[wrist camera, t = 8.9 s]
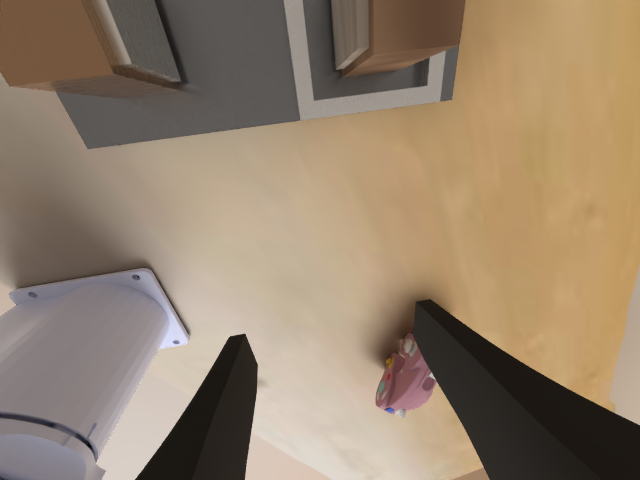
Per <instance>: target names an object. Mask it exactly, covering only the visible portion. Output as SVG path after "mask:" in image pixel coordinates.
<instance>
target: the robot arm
mask: <svg viewBox="0 0 640 480" xmlns="http://www.w3.org/2000/svg"><path fill="white" fill-rule="evenodd" d="M136 275H138V276H139V277H137V276H136ZM9 297H10V298H11V300H12V301H13V302H14V303H15V304H16V306H15V307H13V308H12V309H10V310H9V311H7V312H6V313H5V314H3V315H2V316H0V480H102V478H103V476H104V474H105V472H106V471H105V470H104V469H102V468H100V467H99V466H98V465H97V464H96V462H97V460H98V458H99V456H100V455H101V453H102V451H103V449H104V447H105V445H106V444H107V442H108V440H109V438H110V436H111V434H112V433H113V431H114V429H115V427H116V426H117V424H118V422H119V420H120V418H121V417H122V415H123V413H124V411H125V409H126V407H127V405H128V404H129V402H130V400H131V398H132V397H133V395H134V393H135V391H136V389H137V387H138V386H139V384H140V382H141V380H142V378H143V377H144V375H145V373H146V371H147V369H148V368H149V366H150V364H151V362H152V360H153V359H154V357H155V355H156V353H157V351H158V349H163V348H168V347H174V346H179V345H184V344H187V343H188V342H189V339H190V337H189V335H188V333H187V331H186V330H185V328H184V326H183V324H182V323H181V321H180V319H179V317H178V316H177V314H176V312H175V311H174V309H173V307H172V305H171V304H170V302H169V300H168V298H167V297H166V295H165V293H164V291H163V290H162V288H161V286H160V284H159V283H158V281H157V279H156V277H155V276H154V274H153V272H152V271H151V270H149V269H147V268H139V269H133V270H127V271H121V272H115V273H109V274H103V275H97V276H91V277H85V278H79V279H73V280H67V281H61V282H55V283H49V284H43V285H37V286H31V287H25V288H19V289H15V290H13V291H12V292H10V293H9ZM413 337H414V339H415V341H416V344H417V346H418V348H419V350H420V352H421V354H422V357H423V359H424V360H425V362H426V364H427V366H428V367H429V369H430V371H431V372H432V374H433V376H434V377H435V379H436V381H437V382H438V384H439V386H440V387H441V389H442V391H443V392H444V394H445V396H446V397H447V399H448V401H449V402H450V404H451V406H452V407H453V409H454V411H455V412H456V414H457V416H458V418H459V419H460V421H461V423H462V425H463V426H464V428H465V430H466V432H467V434H468V436H469V438H470V440H471V442H472V444H473V446H474V448H475V450H476V452H477V454H478V456H479V458H480V460H481V462H482V464H483V466H484V468H485V470H486V473H487V474H488V477H489V479H490V480H640V425H638V424H636V423H634V422H632V421H630V420H627V419H625V418H623V417H621V416H619V415H617V414H615V413H613V412H611V411H609V410H607V409H605V408H603V407H601V406H600V405H598V404H596V403H594V402H592V401H590V400H588V399H586V398H584V397H582V396H580V395H578V394H576V393H575V392H573V391H571V390H569V389H567V388H565V387H563V386H562V385H560V384H558V383H556V382H555V381H553V380H551V379H549V378H548V377H546V376H544V375H542V374H541V373H539V372H537V371H535V370H534V369H532V368H530V367H529V366H527V365H525V364H524V363H522V362H520V361H519V360H517V359H516V358H514V357H512V356H511V355H509V354H508V353H506V352H505V351H503V350H501V349H500V348H498V347H497V346H495V345H494V344H492V343H491V342H489V341H488V340H486V339H485V338H483V337H482V336H480V335H479V334H478V333H476V332H475V331H473V330H472V329H470V328H469V327H468V326H466V325H465V324H463V323H462V322H461V321H459V320H458V319H456V318H455V317H454V316H452V315H451V314H450V313H448V312H447V311H445V310H444V309H443V308H441V307H440V306H439V305H437V304H436V303H435V302H433V301H432V300H430V299H428V300H423V301H418V302H416V307H415V316H414V326H413ZM257 371H258V364H257V362H256V359H255V357H254V354H253V352H252V349H251V347H250V344H249V342H248V339H247V337H246V334H241V335H235V336H230V337H229V338H228V340H227V342H226V344H225V345H224V347H223V349H222V351H221V352H220V354H219V356H218V358H217V359H216V361H215V363H214V365H213V366H212V368H211V370H210V371H209V373H208V375H207V376H206V378H205V380H204V381H203V383H202V384H201V386H200V388H199V389H198V391H197V393H196V394H195V396H194V397H193V399H192V401H191V402H190V403H189V405H188V406H187V408H186V410H185V411H184V412H183V414H182V416H181V417H180V419H179V420H178V422H177V423H176V425H175V426H174V427H173V429H172V431H171V432H170V433H169V435H168V436H167V437H166V439H165V440H164V442H163V443H162V445H161V446H160V447H159V449H158V450H157V451H156V453H155V454H154V455H153V457H152V458H151V459H150V461H149V462H148V463H147V465H146V466H145V467H144V469H143V470H142V471H141V473H140V474H139V475H138V477H137V478H136V479H135V480H245V473H246V463H247V456H248V449H249V443H250V436H251V429H252V422H253V415H254V408H255V401H256V393H257Z"/></svg>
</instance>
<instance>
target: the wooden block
mask: <svg viewBox="0 0 640 480" xmlns="http://www.w3.org/2000/svg"><path fill="white" fill-rule="evenodd" d="M331 6H332V21H333V35H334V50H335V65H336V70H338V69H342V78H343V77H351V76H359V75H367V74H375V73H383V72H392V71H398V70H400V69H403V68H405V67H408V66H410V65H412V64H415V63H417V62H419V61H422V60H424V59H426V58H429V57H431V56H434V55H436V54H438V53H441V52H443V51H445V50H448V49H450V48H452V47H455V46H457V45H459V44H460V37H461V29H462V22H463V14H464V7H465V0H331Z"/></svg>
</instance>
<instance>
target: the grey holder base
mask: <svg viewBox="0 0 640 480" xmlns="http://www.w3.org/2000/svg"><path fill="white" fill-rule="evenodd" d="M458 50H459V45H457V46H455V47H452V48H450V49H448V50H445V51H443V52H441V53H438V54H436V55H434V56H431V57H429V58H426V59H424V60H422V61H419V62H417V63H415V64H412V65H410V66H408V67H405V68H403V69H400V70H398V71H392V72H383V73H375V74H367V75H359V76H351V77H343V78H342V69H338V70H336V65H335V50H334V35H333V21H332V6H331V0H0V72H1V73H2V75H3V77H4V78H5V80H6V81H7V83H8V84H9V86H12V87H20V88H29V89H38V90H47V91H55V92H56V93H57V95H58V97H59V98H60V100H61V102H62V104H63V106H64V107H65V109H66V111H67V113H68V114H69V116H70V118H71V120H72V122H73V123H74V125H75V127H76V129H77V130H78V132H79V134H80V136H81V138H82V139H83V141H84V143H85V145H86V146H87V148H88V149H93V148H100V147H107V146H115V145H122V144H129V143H137V142H144V141H152V140H159V139H166V138H174V137H181V136H188V135H196V134H203V133H211V132H218V131H225V130H233V129H240V128H247V127H255V126H262V125H270V124H277V123H284V122H292V121H299V120H300V121H301V120H308V119H316V118H323V117H330V116H338V115H345V114H353V113H360V112H367V111H375V110H382V109H389V108H397V107H404V106H412V105H419V104H426V103H434V102H440V101H447V100H452V95H453V87H454V80H455V72H456V65H457V57H458Z"/></svg>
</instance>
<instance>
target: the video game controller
mask: <svg viewBox="0 0 640 480" xmlns="http://www.w3.org/2000/svg"><path fill="white" fill-rule="evenodd" d="M401 354H402V355H404V356H405V359H404V358H403V357H401V356H400V355H398V354H396V353H393V354H391V356H390V357H389V358H388V359H387V361H386V368H385V372H384V374H383V377H382V379H381V381H380V383H379V386H378V389H377V392H376V405H377V407H379V408H381V409H383V410H385V411H386V412H388V413H391V414H393V415H394V414H398V415H399V416H400V417H401V418H403V417H404V416H405V412H406V411H407V410H412V409H415V408H418V407H420V406H422V405H423V404H424V403H426V402H427V401H428V400H429V398H430V397H431V395H432V392H433V388H434V386H435V384H436V382H437V381H436V379H435V377H434V376H433V374H432V372H431V371H430V369H429V367H428V366H427V364H426V362H425V360H424V359H423V357H422V354H421V352H420V350H419V348H418V346H417V344H416V341H415V339H414V337H413V334H412V333H408V334H407V335H406V336H405V338H404V339H403V341H402V344H401Z"/></svg>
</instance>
